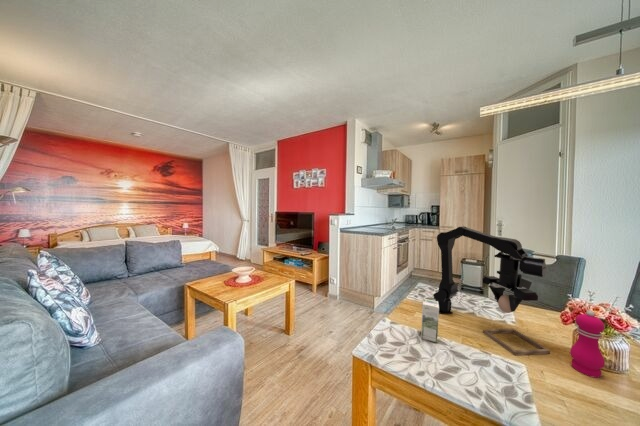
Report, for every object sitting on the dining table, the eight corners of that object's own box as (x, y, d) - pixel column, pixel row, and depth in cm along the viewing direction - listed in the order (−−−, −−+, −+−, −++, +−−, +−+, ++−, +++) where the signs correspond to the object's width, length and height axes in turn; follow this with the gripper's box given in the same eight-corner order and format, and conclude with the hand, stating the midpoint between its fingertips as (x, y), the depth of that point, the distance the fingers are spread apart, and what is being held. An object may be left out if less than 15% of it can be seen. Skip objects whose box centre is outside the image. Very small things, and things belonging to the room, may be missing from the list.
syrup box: (436, 335, 90) (438, 300, 90) (437, 343, 85) (439, 306, 84) (421, 331, 93) (422, 297, 92) (421, 339, 87) (422, 303, 87)
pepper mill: (591, 365, 75) (596, 307, 74) (610, 381, 68) (616, 318, 67) (563, 360, 77) (567, 304, 76) (579, 375, 70) (584, 314, 69)
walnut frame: (514, 355, 79) (515, 352, 79) (482, 332, 93) (482, 329, 93) (550, 353, 80) (550, 350, 80) (513, 331, 94) (513, 328, 94)
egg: (497, 312, 90) (498, 294, 90) (498, 307, 94) (499, 290, 94) (514, 317, 86) (515, 298, 86) (514, 312, 90) (516, 294, 90)
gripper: (553, 278, 81) (549, 319, 82) (505, 263, 99) (503, 297, 100) (525, 278, 80) (522, 320, 81) (482, 263, 98) (480, 298, 99)
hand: (506, 307), depth 90 cm, fingers closed on egg, 5 cm apart
